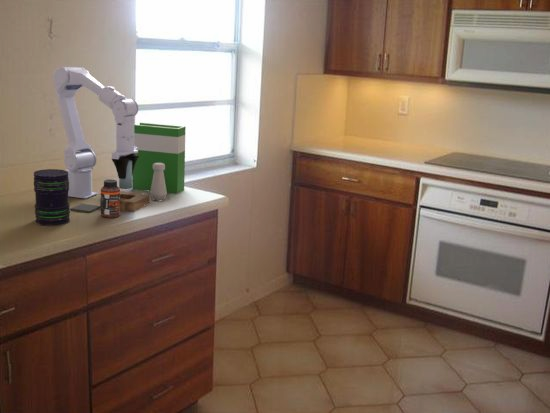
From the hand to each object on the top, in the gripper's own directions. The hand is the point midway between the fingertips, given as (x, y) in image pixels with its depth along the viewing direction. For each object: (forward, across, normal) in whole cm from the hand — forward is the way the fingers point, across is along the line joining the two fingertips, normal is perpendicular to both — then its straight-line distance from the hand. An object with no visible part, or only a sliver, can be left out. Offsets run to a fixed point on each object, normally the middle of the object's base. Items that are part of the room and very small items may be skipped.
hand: (125, 177), depth 205 cm
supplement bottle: (+10, -13, -2) cm, 17 cm away
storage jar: (+10, -26, +10) cm, 30 cm away
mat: (+10, -10, +9) cm, 16 cm away
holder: (+10, 0, 0) cm, 10 cm away
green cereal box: (+10, +26, 0) cm, 28 cm away
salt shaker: (+10, +12, -7) cm, 17 cm away
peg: (+4, 0, 0) cm, 4 cm away
